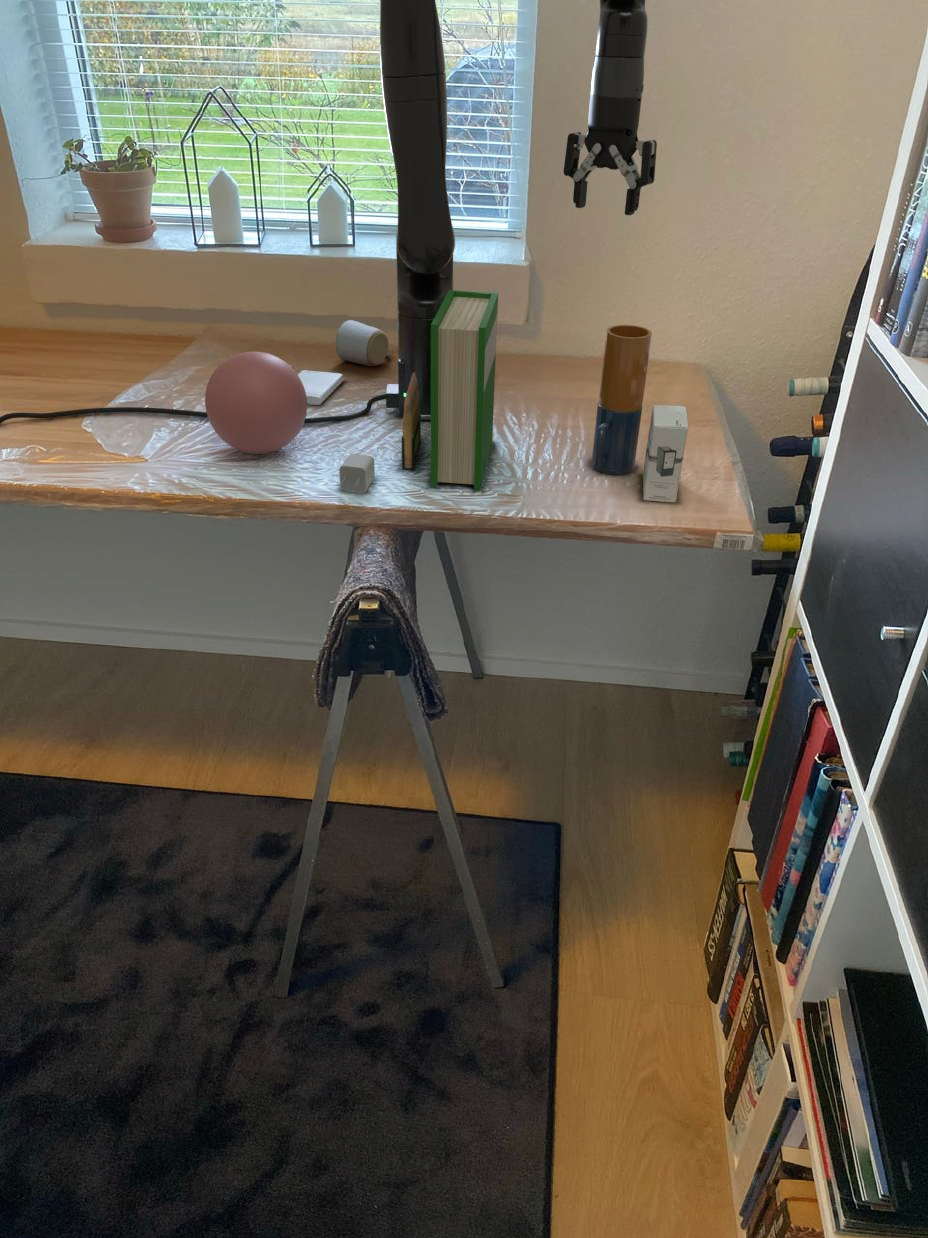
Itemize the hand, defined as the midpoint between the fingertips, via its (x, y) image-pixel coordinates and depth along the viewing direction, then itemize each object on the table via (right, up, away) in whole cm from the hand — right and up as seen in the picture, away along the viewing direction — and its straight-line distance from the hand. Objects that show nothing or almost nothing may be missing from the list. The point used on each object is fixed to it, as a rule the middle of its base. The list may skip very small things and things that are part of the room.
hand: (604, 210), depth 146 cm
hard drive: (-50, -22, +25) cm, 60 cm away
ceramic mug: (-41, -13, +39) cm, 58 cm away
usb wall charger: (-38, -45, -8) cm, 59 cm away
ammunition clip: (-30, -38, +2) cm, 49 cm away
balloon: (-53, -36, +5) cm, 64 cm away
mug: (+1, -40, -1) cm, 40 cm away
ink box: (+7, -45, -6) cm, 46 cm away
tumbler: (+2, -31, -5) cm, 32 cm away
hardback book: (-22, -40, 0) cm, 46 cm away
